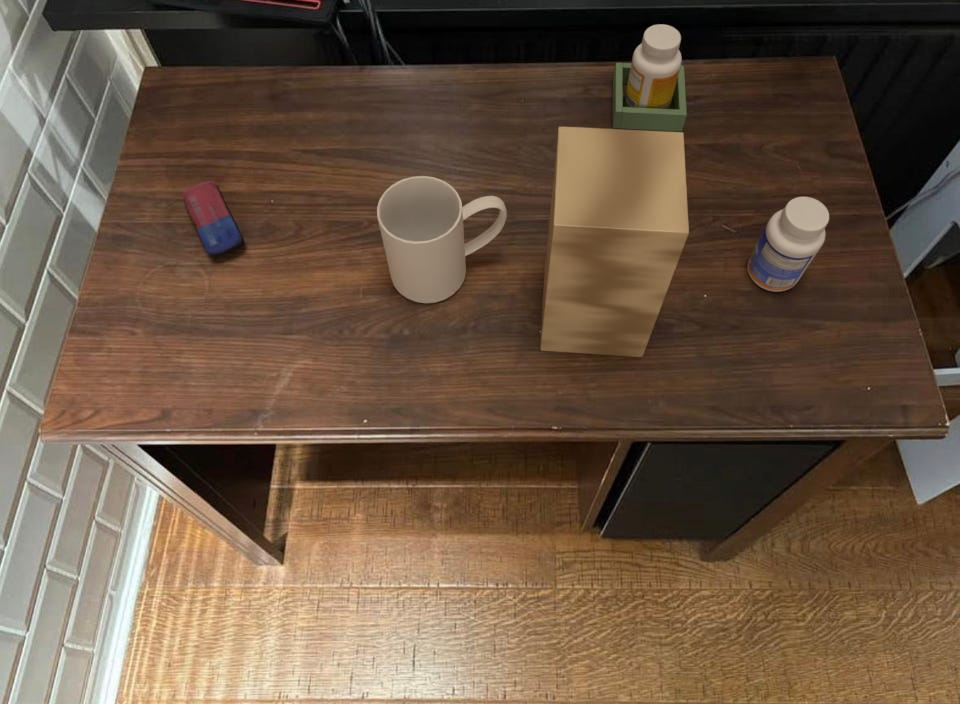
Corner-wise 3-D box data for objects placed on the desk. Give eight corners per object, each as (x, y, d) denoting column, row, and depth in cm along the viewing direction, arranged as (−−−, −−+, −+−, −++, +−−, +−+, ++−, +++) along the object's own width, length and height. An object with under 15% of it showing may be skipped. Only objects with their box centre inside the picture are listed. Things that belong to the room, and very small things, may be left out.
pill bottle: (766, 241, 79) (799, 179, 70) (809, 271, 77) (849, 211, 68) (735, 271, 77) (765, 212, 68) (778, 303, 75) (815, 246, 66)
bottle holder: (679, 82, 90) (684, 65, 87) (681, 131, 86) (687, 114, 84) (612, 79, 90) (615, 62, 88) (612, 128, 87) (615, 111, 84)
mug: (397, 311, 75) (383, 250, 66) (385, 249, 79) (370, 183, 70) (513, 288, 76) (516, 225, 67) (496, 228, 80) (496, 160, 71)
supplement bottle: (675, 96, 89) (694, 27, 80) (661, 127, 86) (679, 59, 78) (632, 83, 90) (646, 13, 81) (617, 113, 88) (630, 45, 79)
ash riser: (640, 272, 77) (683, 132, 59) (642, 357, 72) (689, 232, 55) (544, 266, 78) (558, 125, 60) (539, 350, 73) (553, 225, 55)
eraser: (181, 196, 83) (175, 185, 82) (216, 182, 84) (210, 171, 82) (213, 267, 78) (207, 257, 77) (250, 251, 79) (245, 241, 77)
